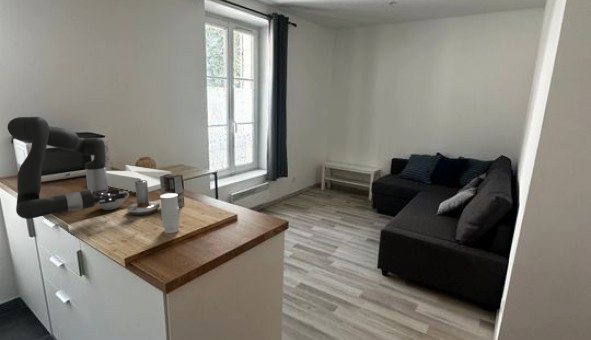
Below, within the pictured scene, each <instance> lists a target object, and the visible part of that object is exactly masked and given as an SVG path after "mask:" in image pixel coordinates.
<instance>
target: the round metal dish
mask: <svg viewBox="0 0 591 340" xmlns="http://www.w3.org/2000/svg"><path fill="white" fill-rule="evenodd" d="M160 207H161V206H160V202H158V201H150V200H149V206H147V207H137V202H134V203H131V204H129V205H128V206H127V208H126V209H127V212H129V213H130V215H131V216H134V217H145V216H151V215H153V214H156V213H157V212H159V211H158V209H159V208H160Z"/></svg>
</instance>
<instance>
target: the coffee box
mask: <svg viewBox="0 0 591 340" xmlns="http://www.w3.org/2000/svg"><path fill="white" fill-rule="evenodd" d="M160 185H161V189H160V192H161V194H160V196H161V195H163V194H168V193H176V194H178V196H177V200H178V207H180V208H182V207H184V206H185V195H184V194H185V192H184V180H183V174H175V173H172V174H166V175H163V176H160Z"/></svg>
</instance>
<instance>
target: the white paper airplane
mask: <svg viewBox="0 0 591 340" xmlns="http://www.w3.org/2000/svg"><path fill="white" fill-rule="evenodd" d="M172 172H173V171H167V170H164V169H163V170H161V169H156V168H147V167H141V166H134V165H128V164H125V170H106V174H107V182H108V186H111V187H115V188H120V189H124V190H123V191H125V190H128V191H127V192H130V191H132V192H131V193H135V192H136V187H135V182H136V181H139V180H147V185H148V193H150V192H154V191H158V190H161V185H160V176H163V175H166V174H173V173H172ZM115 188H114V189H115ZM120 189H119V190H120Z"/></svg>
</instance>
